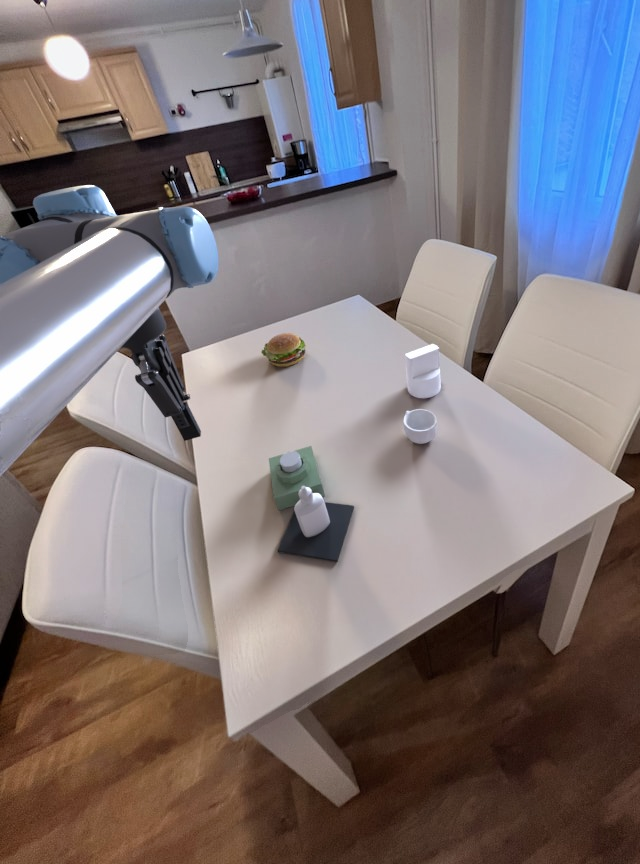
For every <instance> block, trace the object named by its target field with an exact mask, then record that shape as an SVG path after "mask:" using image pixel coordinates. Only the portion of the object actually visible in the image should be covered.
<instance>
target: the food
mask: <svg viewBox="0 0 640 864" xmlns="http://www.w3.org/2000/svg"><path fill="white" fill-rule="evenodd" d="M306 346H307V345H306V343H305V341H304V340H303V339H302V338H301V337H299V336H298V335H297V334H294V333H290V332H287V333H286V332H285V333H280V334H277V335H275V336H273V337H272V338H271V339H269V341H268V342H266V343H265V344H264V347H263V349H261V354H262V355H263V356H265V357H266V359H268V362H270V364H272V365H273V366H275V367H278V368H279V367H281V368H282V367H290V366H293V365H295V364H297V363H299V362H300V361H302V360H303V359H304V357H305V354H306Z"/></svg>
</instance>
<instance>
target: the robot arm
mask: <svg viewBox="0 0 640 864" xmlns="http://www.w3.org/2000/svg"><path fill="white" fill-rule="evenodd" d="M32 206H33V207H34V209H35V212H36V213H37V218H38V220H39V221H38V222H35V223H32V224H29V225H27V226H24V227H21V228H19V229H15V230H13V231H11V232H6V233H5V234H2V235H0V477H1V476H3V475H4V473H5V472H6V471H7V470H8V469H9V468H10V467H11V466H12V465H13V464H14V462H16V461H17V460H18V458H19V457H20V456H21V455H22V454H23V453H24V452H25V451H26V450H27V449H28V448H29V446H31V445H32V443H33V442H34V441H36V439H38V437H39V436H40V435H41V434H42V432H44V430H46V428H47V427H48V426H49V425H50V424H51V423H53V421H54V420H55V419H56V418H57V416H58V415H59V414H60V413H62V412H63V410H64V409H65V408H66V407H67V406H68V405H69V403H70V402H72V400H73V399H74V398H75V397H76V396H77V395H78V394H79V393H80V392H81V391H82V390H83V389H84V388H85V387H86V386H87V384H88V383H89V382H90V381H91V380H92V379H93V378H94V377H95V376H96V375H97V374H98V373H99V371H100V370H101V369H102V368H103V367H104V366H105V365H106V364H107V363H108V362H109V361H110V360H111V359H112V357H113V356H114V355H115V354H117V352H118V351H119V350H120V349H127V350H129V351H130V354H131V360H132V362H133V363H134V366H136V367H138V369H139V371H140V373H138V374H135V376H134V379H135V382H136V383H137V385H139V386H141V387H142V388H143V390H144V391H145V392H146V394H147V395H148V396H149V398H150V399H151V400H152V402H153V403H154V404H155V406H156V407H157V408H158V410H159V411H160V413H161V414H162V415H163V417H164V418H170V417H171V419H172V420H173V423H174V424H175V426H176V428H177V429H178V432H179V433H180V435H181V437H182V439H183V441H184V442H187V441H190V440H194V439H197V438H200V437H201V436H202V430H201V428H200V426H199V424H198V422H197V420H196V418H195V416H194V414H193V412H192V410H191V408H190V406H189V404H188V402H187V401H188V400H191V396H190V395H191V394H190V393H187V394H185V391H186V387H185V386H184V382H183V380H182V378H181V376H180V373H179V371H178V368H177V365H176V363H175V360H174V358H173V355H172V353H171V350H170V347H169V345H168V341H167V336H166V335H165V334H164V333H165V332H166V330H167V322H166V320H165V318H164V316H163V314H162V311H161V309H160V306H161V305H162V304H163V303H164V302H165V301H166V300H167V299H168V298H169V297H170V296H171V295H172V294H173V293H174V292H175V291H176V290H178V289H182V288H183V289H185V288H187V289H193V288H194V287H198V286H202V285H208V284H210V283H212V282H213V281H214V280H215V278H216V277H217V274H218V271H219V265H220V263H219V262H220V261H219V260H220V259H219V251H218V246H217V245H218V244H217V242H216V239H215V236H214V233H213V230H212V228H211V226H210V224H209V223H208V221H207V219H206V218H205V216H203V214H202V213H201V212H199V210H198V209H196V208H193V207H191V206H177V207H174V206H173V207H164V206H160V207H158V208H157V209H151V210H146V211H139V212H133V213H125V214H120V215H118V214H116V212H115V210H114V208H113V207H112V205H111V203H110V202H109V199H108V197H107V196H106V194H105V192H104V191H103V189H101V188H100V187H98V186H97V185H94V184H93V185H92V184H86V185H77V186H72V187H65V188H61V189H56V190H52V191H49V192H44V193H41V194H38V195H37V196H35V197H34V198H33V201H32Z"/></svg>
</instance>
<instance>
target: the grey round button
mask: <svg viewBox="0 0 640 864" xmlns="http://www.w3.org/2000/svg"><path fill="white" fill-rule="evenodd" d="M294 451H295V450H293V451H292V450H291V451H287V452H285V453H283V454H284V455H282V454H281V455H282V457H281V458H280V464H281V467H282V470H283V471H284V472H286V473H293V472H296V471H297V470H299V469H300V468H301V466H302V461H301V457H300V455H299V453H297V452H294Z"/></svg>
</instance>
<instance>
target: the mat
mask: <svg viewBox="0 0 640 864" xmlns="http://www.w3.org/2000/svg"><path fill="white" fill-rule="evenodd" d="M324 502H325V506H326V509H327V512H328V516H329V519H330V524H329V525H328V527H327V528H326V529H325V530H324V531H322V532H321V533H319V534H317V535H315V536H312V537H306V536H305V535H304V534H303V532H302V530H301V527H300V525H299V522H298V519H297V517H296V514H295V511H294V510H293V513H292V515H291V517H290V519H289V522H288V523H287V527H286V529H285V531H284V533H283V536H282V538H281V540H280V543H279V545H278V547H277V549H276V552H277V553H280V554H287V555H293V556H297V557H304V558H309V559H310V558H311V559H316V560H323V561H329V562H334V563H338V562H339V558H340V555H341V552H342V548H343V545H344V541H345V539H346V535H347V532H348V528H349V525H350V522H351V519H352V515H353V512H354V508H355V505H350V504H344V503H343V504H341V503H334V502H328V501H327V502H326V501H324Z"/></svg>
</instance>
